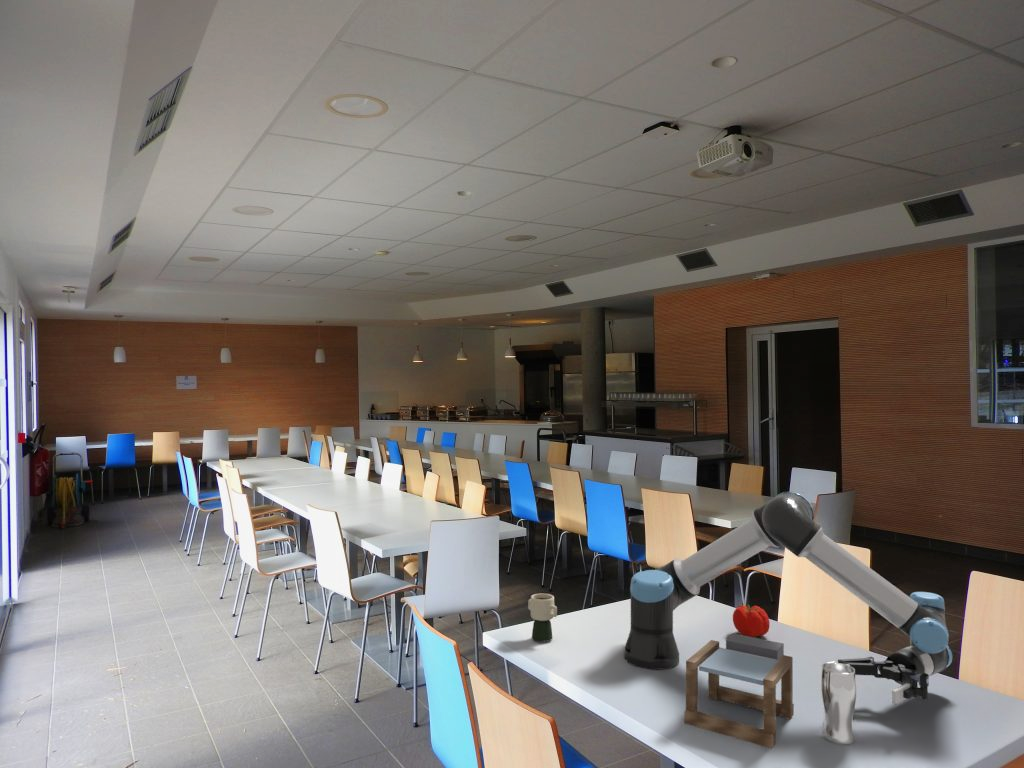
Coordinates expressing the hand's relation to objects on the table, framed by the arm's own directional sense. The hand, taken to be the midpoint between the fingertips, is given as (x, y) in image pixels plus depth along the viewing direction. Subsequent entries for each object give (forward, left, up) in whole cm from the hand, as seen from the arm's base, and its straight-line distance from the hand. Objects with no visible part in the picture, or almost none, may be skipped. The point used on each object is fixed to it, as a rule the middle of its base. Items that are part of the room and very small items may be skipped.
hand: (862, 686), depth 154 cm
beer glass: (-3, -9, -9) cm, 13 cm away
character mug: (-87, +4, -9) cm, 88 cm away
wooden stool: (-23, -13, -9) cm, 28 cm away
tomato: (-37, +46, -9) cm, 60 cm away
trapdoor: (-23, -9, +1) cm, 25 cm away
